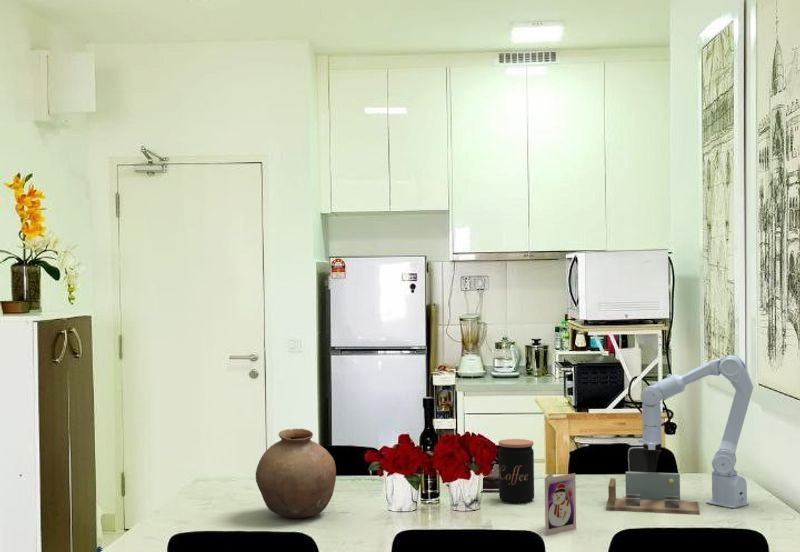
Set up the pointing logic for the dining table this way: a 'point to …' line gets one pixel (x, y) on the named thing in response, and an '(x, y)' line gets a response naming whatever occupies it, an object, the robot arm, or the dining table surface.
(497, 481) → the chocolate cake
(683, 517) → the dining table surface
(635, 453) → the battery charger
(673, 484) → the door panel
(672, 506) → the hinge rail
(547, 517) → the greeting card
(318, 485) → the pottery
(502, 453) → the coffee jar
